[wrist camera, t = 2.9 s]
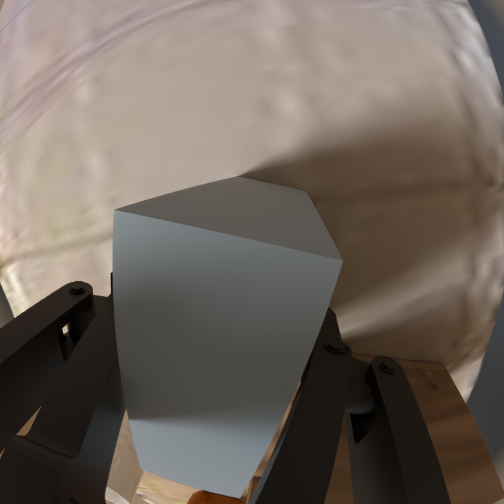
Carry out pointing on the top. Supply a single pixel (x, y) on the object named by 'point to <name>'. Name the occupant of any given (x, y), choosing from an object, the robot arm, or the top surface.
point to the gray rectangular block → (217, 322)
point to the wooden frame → (442, 435)
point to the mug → (211, 499)
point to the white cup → (124, 468)
